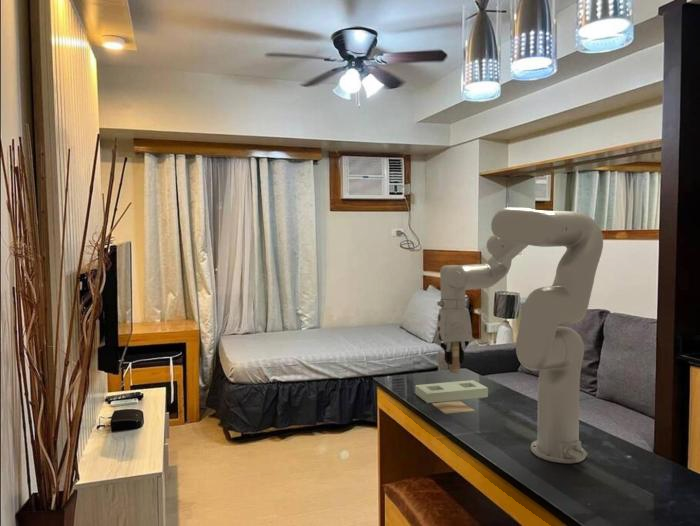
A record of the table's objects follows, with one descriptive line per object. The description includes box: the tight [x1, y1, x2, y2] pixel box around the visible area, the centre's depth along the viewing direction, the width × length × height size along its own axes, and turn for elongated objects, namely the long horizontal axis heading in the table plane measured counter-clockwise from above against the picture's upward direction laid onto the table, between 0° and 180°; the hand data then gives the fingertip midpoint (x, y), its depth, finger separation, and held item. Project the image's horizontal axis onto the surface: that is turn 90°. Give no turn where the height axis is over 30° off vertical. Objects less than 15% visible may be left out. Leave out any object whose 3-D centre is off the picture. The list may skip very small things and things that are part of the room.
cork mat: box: [431, 400, 476, 415], centre depth 158 cm, size 10×10×1 cm
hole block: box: [414, 379, 489, 404], centre depth 170 cm, size 10×22×4 cm, turn 105°
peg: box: [448, 342, 461, 374], centre depth 156 cm, size 3×3×10 cm
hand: (454, 362), depth 156 cm, fingers closed on peg, 3 cm apart
